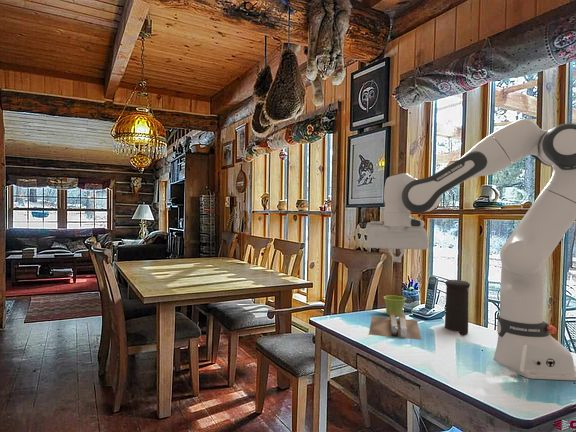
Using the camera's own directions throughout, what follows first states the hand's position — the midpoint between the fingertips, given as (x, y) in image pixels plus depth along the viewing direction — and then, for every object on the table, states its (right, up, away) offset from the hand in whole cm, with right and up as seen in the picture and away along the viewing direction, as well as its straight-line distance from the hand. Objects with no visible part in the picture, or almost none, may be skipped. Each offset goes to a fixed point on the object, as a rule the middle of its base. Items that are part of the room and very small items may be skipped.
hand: (396, 262), depth 130 cm
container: (+28, -29, +17) cm, 44 cm away
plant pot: (+9, -29, +37) cm, 47 cm away
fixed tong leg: (+7, -27, +15) cm, 32 cm away
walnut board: (+4, -29, +17) cm, 34 cm away
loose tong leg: (+3, -27, +16) cm, 31 cm away
